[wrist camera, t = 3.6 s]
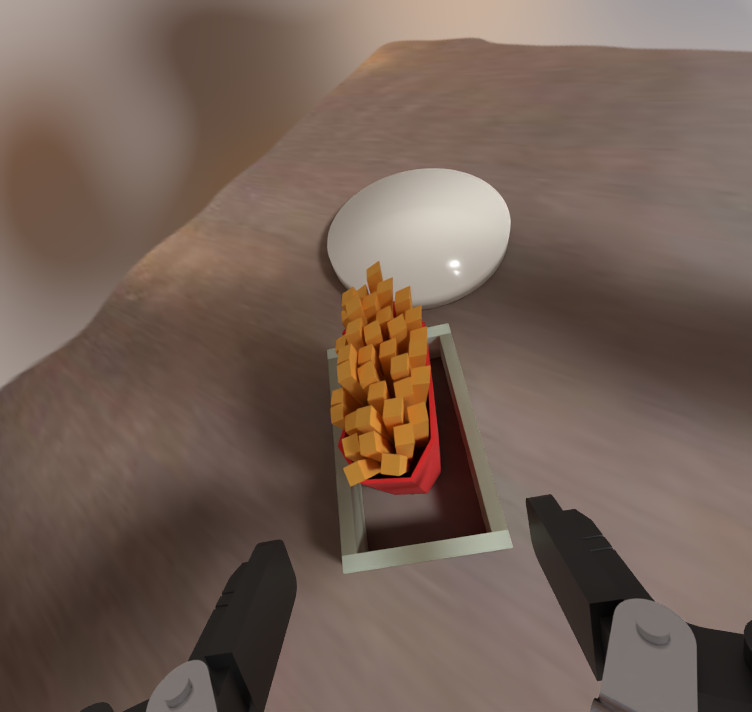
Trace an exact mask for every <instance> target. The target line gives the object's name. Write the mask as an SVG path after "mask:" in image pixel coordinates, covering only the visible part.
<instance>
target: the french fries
mask: <svg viewBox="0 0 752 712" xmlns="http://www.w3.org/2000/svg"><path fill="white" fill-rule="evenodd" d="M366 274H367V283H368V287H369V291H370V294H369V292H368V289H367V286H366V284H365V285H364V286H362V287H361V288H360V289H358V290H357V291H356V290H355V288H354V287H352V288H350V289H349V290H347V291H346V292H344V293H343V295H342V308H343V309H344V310H342V311H341V315H342V323H343V325H344V327H345V330H344V331H343V333H342V334H343V336H341V337H340V338H338V339H336V348H335V352H336V354H337V355H338V360H337V364H338V366H337V375H338V383H340V384H341V385H342V388H339V389H336V390H333V391H332V399H331V406H332V408H330V410H331V424H333V425H335V426H337V427H339V428H341V429H343V430H342V434H341V437H340V440H339V443H338V448H339V449H340V451H341V453H342V454H343V456H344V458H345V459H346V461H347V463H348V464H349V465H348V466H346V467H345V468H343V469H344V472H345V474H346V477H347V479H348V482H349V484H350V487H351V486H354V485H356V484H358V483H360V484H363V485H366V486H369V487H372V488H375V489H378V490H382V491H385V492H388V493H391V494H394V495H401V494H425V493H428V492H429V490H430V489H431V487H432V486H433V484H434V483H435V481H436V480H437V478H438V477H439V475H440V474H441V459H440V446H439V435H438V426H437V417H436V409H435V400H434V391H433V383H432V374H431V365H430V357H429V348H428V342H427V326H426V327H425V323H424V322H423V321H422V320H421V318H422V305H420V306H417V307H414V308H412V298H411V288H410V286H408V287H406V288H404V289H401V290H399V291H397V292H395V301H393V277H392V278H389V279H387V280H385V281H383V278H382V273H381V267H380V262H379V261H378V262H376V263H375V264H373V265H372V266H371V267H369V268H368V269H366Z"/></svg>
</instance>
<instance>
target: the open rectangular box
mask: <svg viewBox="0 0 752 712" xmlns="http://www.w3.org/2000/svg"><path fill="white" fill-rule="evenodd" d="M427 342H428V348H429V357H430V359H433V358H437V357H441V359H442V363H443V367H444V371H445V375H446V378H447V382H448V386H449V390H450V394H451V398H452V401H453V405H454V409H455V413H456V417H457V421H458V425H459V428H460V432H461V436H462V440H463V444H464V448H465V451H466V455H467V459H468V463H469V467H470V471H471V474H472V478H473V482H474V486H475V490H476V494H477V498H478V501H479V505H480V509H481V513H482V517H483V521H484V524H485V528H486V532H487V533H484V534H478V535H471V536H465V537H459V538H453V539H446V540H440V541H434V542H427V543H421V544H415V545H408V546H402V547H396V548H389V549H383V550H377V551H371V552H368V544H367V534H366V525H365V515H364V506H363V496H362V487H361V484H360V483H358V484H356V485H354V486H351V487H350V484H349V482H348V479H347V477H346V474H345V472H344V469H343V468H345V467H346V466H348V465H349V464H348V463H347V461H346V459H345V458H344V456H343V454H342V453H341V451H340V449H339V448H338V443H339V440H340V437H341V434H342V430H343V429H341V428H339V427H337V426H335V425H333V424H332V427H333V440H334V454H335V468H336V482H337V496H338V510H339V523H340V537H341V551H342V565H343V574H345V573H352V572H359V571H366V570H372V569H379V568H385V567H392V566H399V565H405V564H412V563H418V562H425V561H431V560H438V559H444V558H451V557H457V556H464V555H470V554H477V553H483V552H490V551H496V550H503V549H509V548H513V545H512V542H511V538H510V535H509V531H508V528H507V524H506V521H505V517H504V514H503V511H502V507H501V504H500V500H499V497H498V493H497V490H496V486H495V483H494V479H493V476H492V472H491V469H490V466H489V462H488V459H487V455H486V452H485V448H484V445H483V441H482V438H481V434H480V431H479V427H478V424H477V421H476V417H475V414H474V410H473V407H472V403H471V400H470V396H469V393H468V389H467V386H466V382H465V379H464V376H463V372H462V369H461V365H460V362H459V358H458V355H457V351H456V348H455V344H454V341H453V337H452V334H451V331H450V327H449V324H448V323H447V324H442V325H437V326H433V327H428V328H427ZM327 357H328V371H329V385H330V399H332V391H333V390H336V389H339V388H342V385H341V384H340V383H338V375H337V366H338V364H337V360H338V355H337V354H336V352H335V348H332V349H328V350H327ZM331 408H332V406H331Z"/></svg>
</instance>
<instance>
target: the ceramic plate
mask: <svg viewBox="0 0 752 712" xmlns="http://www.w3.org/2000/svg"><path fill="white" fill-rule="evenodd" d="M509 234H510V215H509V211H508V208H507V205H506V203H505V202H504V200H503V198H502V197H501V195H500V194H499V193H498V192H497V191H496V190H495V189H494V188H493V187H492V186H490V185H489V184H488V183H486V182H484V181H483V180H481V179H479V178H477V177H475V176H473V175H470V174H467V173H464V172H460V171H455V170H449V169H436V168H429V169H417V170H410V171H405V172H401V173H397V174H394V175H391V176H388V177H385V178H383V179H380V180H378V181H376V182H374V183H372V184H370V185H368V186H367V187H365V188H364V189H362V190H361V191H359V192H358V193H357V194H355V195H354V196H353V197H352V198H351V199H349V200H348V201H347V202H346V203H345V204H344V206H343V207H342V208H341V209H340V210H339V212H338V213H337V215H336V216H335V218H334V220H333V222H332V224H331V227H330V230H329V233H328V239H327V249H328V255H329V258H330V261H331V263H332V266H333V268H334V270H335V273H336V275H337V277H338V279H339V280H340V282H341V283H342V284H343V286H344V287H345V288H346V289H347V290H349V289H350V288H352V287H354V288H355V290H356V291H357V290H358V289H360V288H361V287H362V286H364V285H365V284H366V286H367V289H368V292H369V294H370V291H369V287H368V283H367V274H366V269H368V268H369V267H371V266H372V265H373V264H375V263H376V262H378V261H379V262H380V267H381V273H382V278H383V281H385V280H387V279H389V278H392V277H393V301H395V292H397V291H399V290H401V289H404V288H406V287H408V286H410V288H411V298H412V308H414V307H417V306H420V305H422V310H424V309H430V308H436V307H439V306H443V305H446V304H449V303H452V302H454V301H457V300H459V299H461V298H463V297H465V296H467V295H469V294H470V293H472V292H473V291H475V290H476V289H478V288H479V287H481V286H482V285H483V284H484V283H485V282H486V281H487V280H488V279H490V277H491V276H492V275H493V274H494V273H495V272H496V270H497V269H498V267H499V266H500V264H501V262H502V260H503V258H504V256H505V253H506V250H507V245H508V240H509Z"/></svg>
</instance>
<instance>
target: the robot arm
mask: <svg viewBox="0 0 752 712" xmlns="http://www.w3.org/2000/svg"><path fill="white" fill-rule="evenodd" d="M526 507H527V514H528V521H529V528H530V534H531V540H532V544H533V548H534V551H535V554H536V557H537V559H538V561H539V563H540V565H541V568H542V570H543V572H544V574H545V576H546V578H547V580H548V582H549V584H550V586H551V588H552V590H553V592H554V594H555V596H556V598H557V600H558V602H559V604H560V606H561V608H562V610H563V612H564V614H565V616H566V618H567V620H568V622H569V625H570V627H571V629H572V631H573V633H574V635H575V637H576V639H577V641H578V643H579V645H580V647H581V649H582V651H583V653H584V655H585V657H586V659H587V661H588V663H589V665H590V667H591V669H592V671H593V673H594V675H595V677H596V680H597V681H601V680H602V684H601V690H600V694H599V697H598V699H597V698H594V700H593V702H592V705H591V709H590V712H752V620H751V621H750V622H748V623H747V625H746V626H745V630H744V634H738V633H732V632H726V631H720V630H714V629H708V628H703V627H698V626H695V625H692V624H689V623H687V622H685V621H684V620H683V619H682V618H681V617H680V616H679V615H677V614H676V613H675V612H673V611H672V610H670V609H669V608H667V607H665V606H663V605H662V604H659V603H657V602H655V601H654V600H653V599H652V598H651V596H650V595H649V594H648V593H647V591H646V590H645V589H644V587H643V586H642V585H641V584H640V582H639V581H638V580H637V578H636V577H635V576H634V574H633V573H632V572H631V571H630V569H629V568H628V567H627V565H626V564H625V563H624V561H623V560H622V559H621V558H620V556H619V555H618V554H617V552H616V551H615V550H613V549H612V546H611V545H610V543H609V542H608V541H607V539H606V538H605V537H603V535H602V533H601V532H600V530H599V529H598V528H597V527H596V525H595V524H594V523H593V521H592V520H591V519H589V518H588V517H586V516H585V515H583V514H582V513H580V512H579V511H577V510H576V509H571V510H565V511H563V510H562V509H561V507H560V506H559V504H558V503H557V501H556V500H555V498H554V497H553V496H552V495H551V494H549V495H543V496H537V497H531V498H526ZM296 591H297V583H296V576H295V573H294V570H293V567H292V564H291V562H290V559H289V556H288V553H287V550H286V548H285V545H284V543H283V541H282V540H274V541H268V542H262V543H258V544H257V545H256V547H255V549H254V551H253V553H252V555H251V557H250V559H249V561H248V562H245V563H242V564H241V566H240V567H239V568H238V569H237V570H236V571H235V572H234V573H233V575H232V576H231V577H230V579H229V580H228V582H227V584H226V586H225V588H224V590H223V592H222V596H220V598H219V600H218V602H217V604H216V609H215V610H213V612H212V614H211V616H210V618H209V620H208V622H207V624H206V626H205V628H204V630H203V632H202V634H201V636H200V638H199V640H198V642H197V644H196V646H195V648H194V650H193V652H192V654H191V656H190V658H189V660H188V662H186V663H184V664H182V665H180V666H178V667H177V668H175V669H174V670H173V671H171V672H170V673H169V674H168V675H167V676H166V677H165V678H164V679H163V680H162V681H161V682H160V684H159V685H158V686H157V687H156V689H155V690H154V692H153V694H152V696H151V698H150V699H148V700H146V701H144V702H142V703H140V704H138V705H136V706H134V707H131V708H129V709H127V710H125V711H123V712H264V709H265V705H266V702H267V698H268V695H269V691H270V687H271V684H272V680H273V677H274V673H275V670H276V666H277V662H278V659H279V655H280V652H281V648H282V644H283V641H284V637H285V634H286V630H287V627H288V623H289V619H290V616H291V612H292V609H293V605H294V601H295V598H296ZM80 712H114V711H113V709H112V708H111V706H110V705H109V704H108V703H104V702H101V703H96V704H93V705H91V706H88V707H87V708H85V709H83V710H82V711H80Z"/></svg>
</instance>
